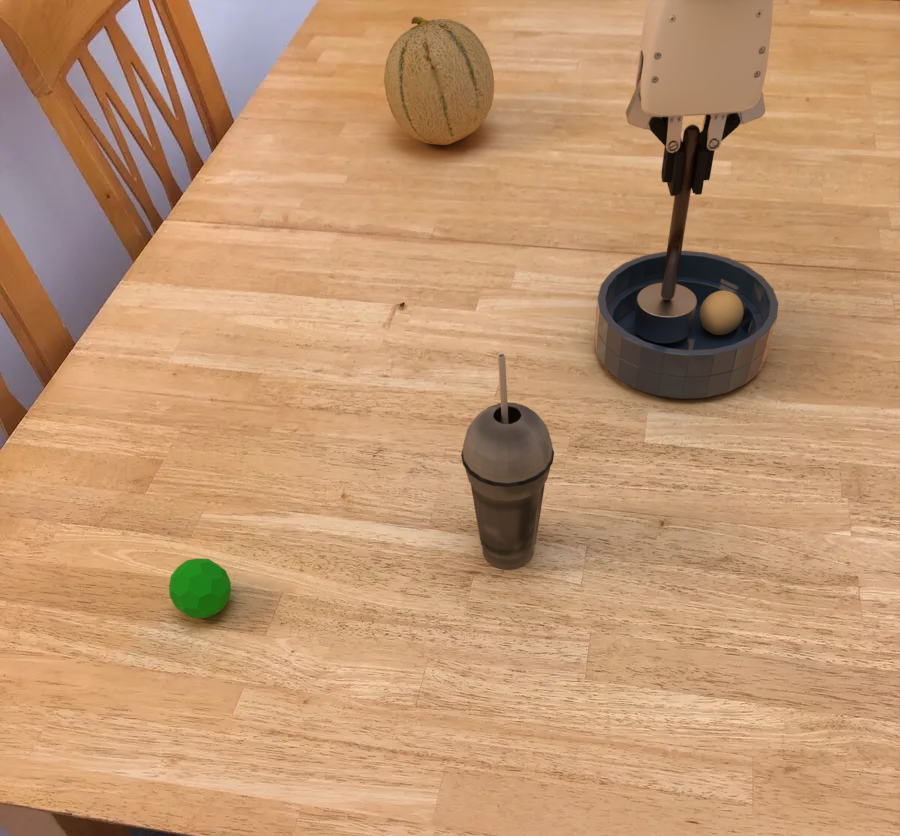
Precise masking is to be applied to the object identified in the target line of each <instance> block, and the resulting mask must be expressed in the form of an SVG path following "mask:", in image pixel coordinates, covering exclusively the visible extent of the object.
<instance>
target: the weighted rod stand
mask: <svg viewBox="0 0 900 836" xmlns="http://www.w3.org/2000/svg"><path fill="white" fill-rule="evenodd" d="M700 132H701V130H700V127H699V126H698V125H697V124H693V123H692V124H688V125H687V126H686V127H685V129H684V130H683V133H682V147H683V150H684V153H685V157H684V164H683V171H682V178H681V184H680V191H679V194H677V196H673V204H672V205H673V206H672V210H671V211H672V212H671V218H670V226H669V233H668V239H667V245H666V252H667V253H666V260H665V267H664V274H663V281H662V283H657V284H652V285H649V286H647V287H645V288H644V289H642V290H641V291H640V292H639V294H638V296H637V303H636V311H635V320H634V328H635V330H636V332H637V333H638V334H639V335H640V336H641V337H643V338H645V339H647V340H649V341H652V342H656V343H673V342H677V341H680V340H682V339H684V338H686V337H687V336H688V335H689V334H690V333H691V331H692V327H693V321H694V315H695V310H696V304H697V299H696V296H695V295H694V293H693V292H692V291H691V290H689V289H688V288H686V287H684V286H681V285H678V284H676V283H677V277H678V270H679V264H680V258H681V251H683V244H684V238H685V232H686V225H687V218H688V212H689V205H690V199H691V193H692V188H691V187H692V180H693V174H694V168H695V161H696V155H697V148H698V143H699V136H700Z"/></svg>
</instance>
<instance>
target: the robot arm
mask: <svg viewBox="0 0 900 836" xmlns="http://www.w3.org/2000/svg"><path fill="white" fill-rule="evenodd" d="M773 12H774V0H647V5H646V10H645V16H644V21H643V25H642V26H643V27H642V32H641V36H640V37H641V38H640V44H639V51H638V58H637V63H636V64H637V65H636V72H635V89H634V92H633V94H632V97H631V99H630V101H629V104H628V106H627V108H626V110H625V117H626V121H627V123H628V124H629V125H630V126H633V127H637V128H640V129H643V130H648V131H650V132H651V133H652V134H653V135H654V136H655V137H656V139H658V140H659V142H660V143H661V144H662V145H663V146H664V149H663V156H662V164H661V172H660V173H661V174H660V175H661V182H662V183H666V184H667V188H668V192H669V195H670V197H675V196H677V194H679V191H680V184H681V178H682V171H683V164H684V157H685V153H684V150H683V147H682V141H683V139H682V130H683V121H684V117H695V116H703V121H702V125H701V126H702V127H701V130H700V136H699V143H698V148H697V155H696V161H695V168H694V174H693V180H692V187H691V192H692V194H694V195H695V196H700V195H702V194H703V189H704V182H705V181H710V178H711V173H712V167H713V162H714V155H715V151H716V150H718V149H719V148H720V146H721V144H722V141H724V140H725V139H726V138H727V137H728V136H730V134H732V133H733V132H734V131H735V130H736V129H737V128H738V127H739V126H740V125H745V124H747V123H750V122H752V121H755V120H758V119H761V118H762V117H763V116H764V115H765V113H766V105H765V100H764V98H765V97H764V93H763V91H764V90H763V89H764V85H765V81H766V74H767V68H768V61H769V53H770V45H771V35H772V26H773V25H772V24H773Z"/></svg>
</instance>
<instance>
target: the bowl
mask: <svg viewBox="0 0 900 836" xmlns="http://www.w3.org/2000/svg"><path fill="white" fill-rule="evenodd" d="M666 253H667V251H660V252H659V251H658V252H655V253H650V254H645V255H641V256H639V257H636V258H634V259H631V260H628V261H625V262H623V263H622V264H621V265H620V266H618V267H616V268H615V269H613V270H612V271H611V272H610V273H609V274H608V275H607V277H606V278H605V279H604V281H603V282H602V283H601V284H600V287H599V291H598V294H597V299H596V312H595V325H594V336H593V341H594V349H595V354H596V356H597V358H598V359H599V361H600V362H601V364H602V366H603V367H604V368H605V369H606V370H607V371H608V372H609V373H610V374H612V375H613V376H614V378H616V380H618V381H620V382H622V383H623V384H624V383H625V384H626V385H628V386H630V387H631V388H633V389H636V390H637V391H640V392H643V393H645V394H649V395H652V396H657V397H661V398H666V399H676V400H694V399H695V400H696V399H703V398H709V397H710V398H711V397H713V396H718V395H722V394H727V393H729V392H731V391H734V390H736V389H738V388H740V387H742V386H744V385H745V384H747V383H749V382H750V380H753V378H754V377H755V376H757V375H758V374H759V373H760V371H761V369H762V367H763V366H764V364H765V363H766V360H767V359H768V358H767V357H768V354H769V350H770V346H771V342H772V338H773V335H774V331H775V327H776V323H777V320H778V316H779V315H778V313H779V300H778V298H777V295H776V293H775V290H774V288H773V287H772V285H771V284H770V283H769V282H768V280H766V279H765V277H764V276H763V275H761V274H760V273H758V272H757V271H755V270H754V269H753V268H751V267H750V266H748V265H746V264H744V263H742V262H739V261H737V260H734V259H733V258H732V259H731V258H730V257H726V256H722V255H717V254H715V253H709V252H706V251H705V252H704V251H693V250H682V251H681V258H680V264H679V270H678V277H677V283H676V284H678V285H681V286H684V287H686V288H688V289H689V290H691V291H692V292H693V293H694V295H695V296H696V299H697V304H696V310H695V315H694V321H693V327H692V331H691V333H690V334H689V335H688V336H687V337H686V338H684V339H682V340H680V341H677V342H673V343H656V342H652V341H649V340H647V339H645V338H643V337H641V336H640V335H639V334H638V333H637V332H636V330H635V328H634V320H635V311H636V303H637V296H638V294H639V292H640V291H641V290H642V289H644V288H645V287H647V286H649V285H652V284H657V283H662V281H663V274H664V267H665V260H666ZM717 291H729V292H732V293H734V294H735V295H737V296H738V297H739V298H740V300H741V302H742V304H743V308H744V314H743V318H742V321H741V323H740V324H739V326H738V327H737V328H736V329H735V330H733V331H732V332H730V333H728V334H725V335H715V334H712V333H710V332H708V331H707V330H706V329H705V328H704V327H703V326H702V324H701V321H700V316H699V314H700V308H701V305H702V303H703V302H704V300H705V299H706V298H707V297H708V296H709V295H711V294H712V293H715V292H717Z"/></svg>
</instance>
